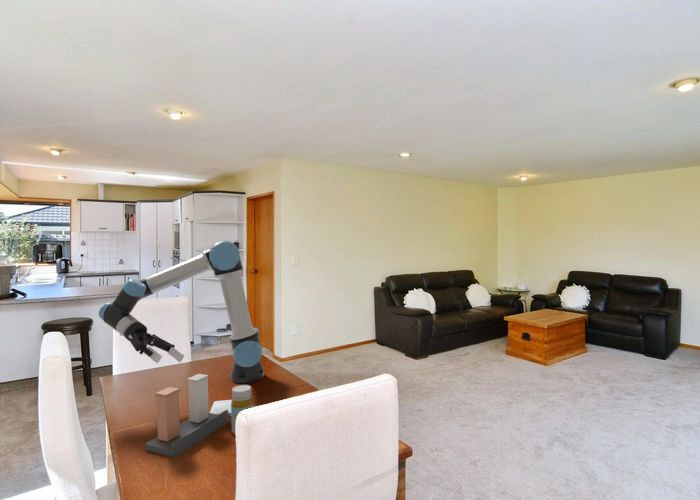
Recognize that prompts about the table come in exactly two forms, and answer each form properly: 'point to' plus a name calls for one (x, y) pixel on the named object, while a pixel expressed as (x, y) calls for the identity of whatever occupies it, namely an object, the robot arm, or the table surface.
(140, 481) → the table surface
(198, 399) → the grey tall block
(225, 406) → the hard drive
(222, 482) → the table surface
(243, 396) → the bottle
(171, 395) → the terracotta key
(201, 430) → the stand
